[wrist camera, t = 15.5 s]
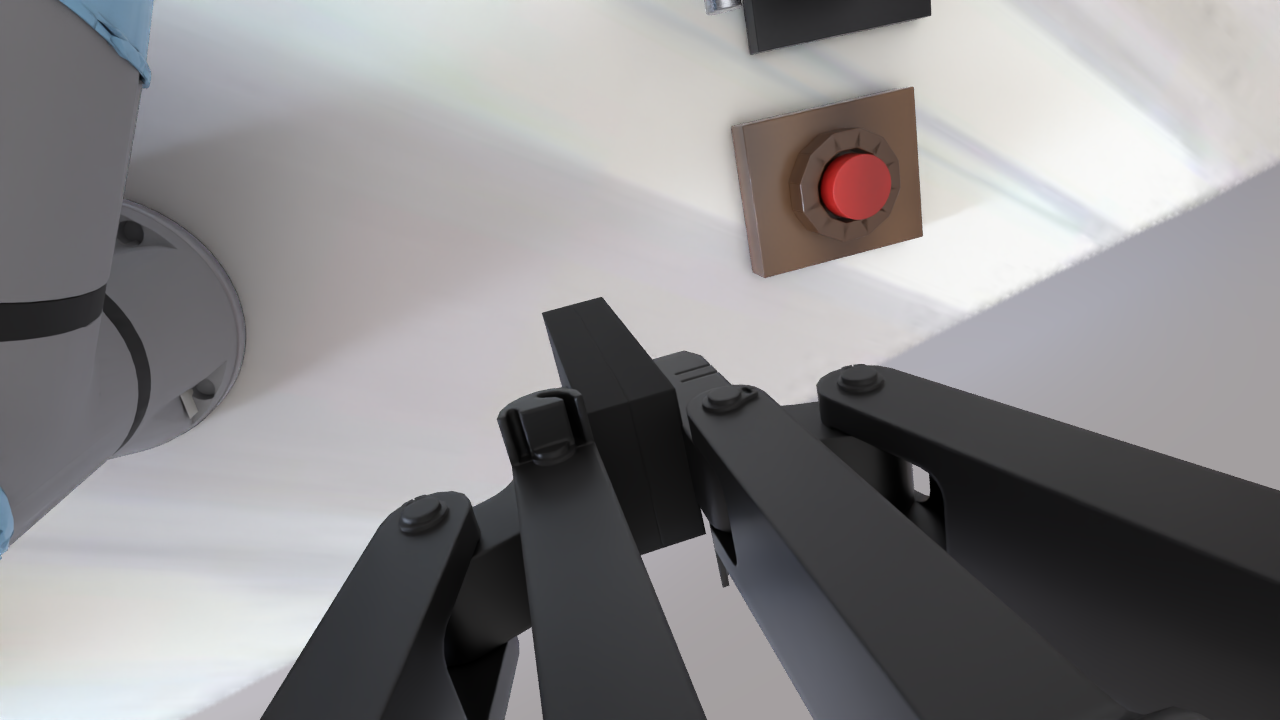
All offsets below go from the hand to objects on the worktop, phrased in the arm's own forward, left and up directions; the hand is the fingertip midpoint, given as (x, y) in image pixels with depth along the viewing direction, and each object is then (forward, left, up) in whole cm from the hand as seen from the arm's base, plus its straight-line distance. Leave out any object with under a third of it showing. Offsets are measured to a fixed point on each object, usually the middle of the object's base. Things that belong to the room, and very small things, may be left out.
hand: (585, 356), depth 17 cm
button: (+21, -2, -26) cm, 33 cm away
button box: (+21, -2, -29) cm, 36 cm away
